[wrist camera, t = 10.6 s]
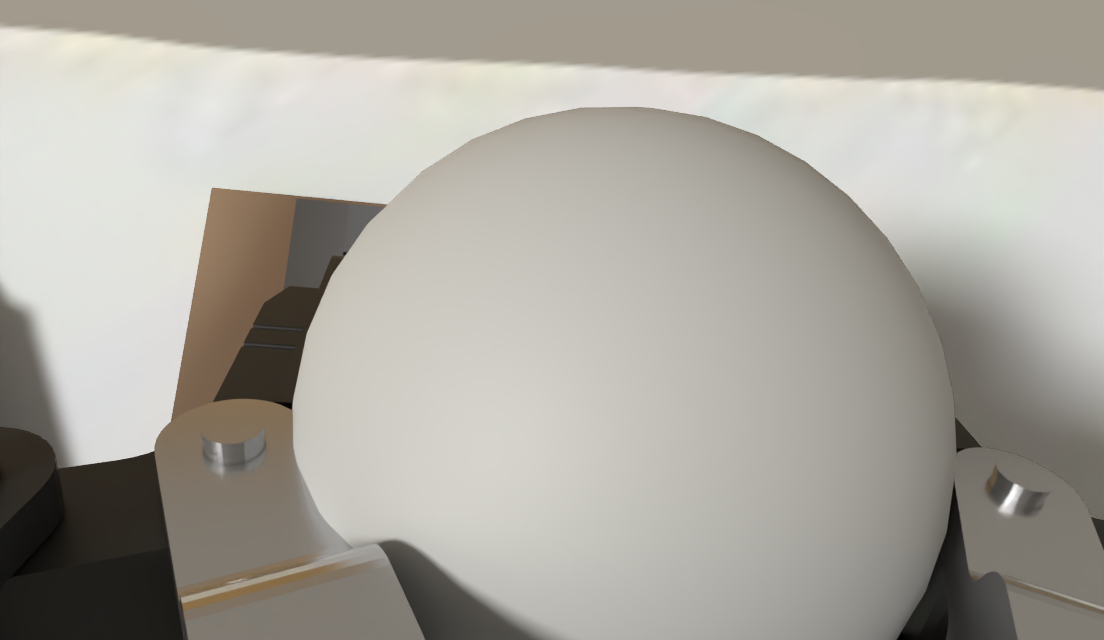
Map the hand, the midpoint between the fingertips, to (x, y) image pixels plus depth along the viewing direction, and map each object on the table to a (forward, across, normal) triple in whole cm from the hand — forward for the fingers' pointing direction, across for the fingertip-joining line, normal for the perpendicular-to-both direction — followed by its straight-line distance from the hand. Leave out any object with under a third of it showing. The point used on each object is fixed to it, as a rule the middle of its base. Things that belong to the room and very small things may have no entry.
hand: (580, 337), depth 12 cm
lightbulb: (+2, 0, +5) cm, 5 cm away
